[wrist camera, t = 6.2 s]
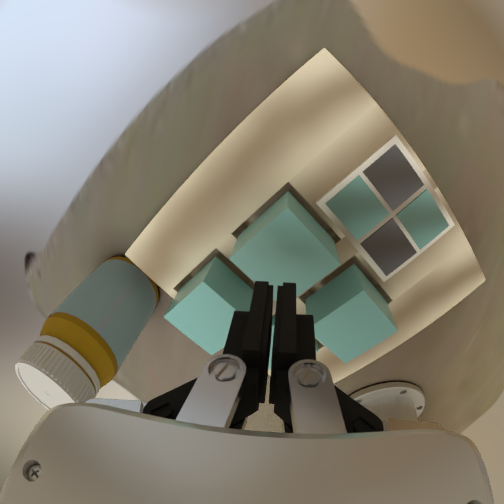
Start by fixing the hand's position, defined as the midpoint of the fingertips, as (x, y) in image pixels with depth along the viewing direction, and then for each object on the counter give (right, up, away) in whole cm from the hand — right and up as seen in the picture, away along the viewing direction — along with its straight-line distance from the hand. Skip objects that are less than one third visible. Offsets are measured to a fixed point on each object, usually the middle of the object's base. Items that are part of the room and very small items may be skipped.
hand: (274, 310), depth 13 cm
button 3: (+1, +3, +8) cm, 9 cm away
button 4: (-3, -1, +11) cm, 11 cm away
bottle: (-13, -1, +17) cm, 21 cm away
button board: (+4, +3, +12) cm, 13 cm away
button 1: (+6, -1, +10) cm, 12 cm away
